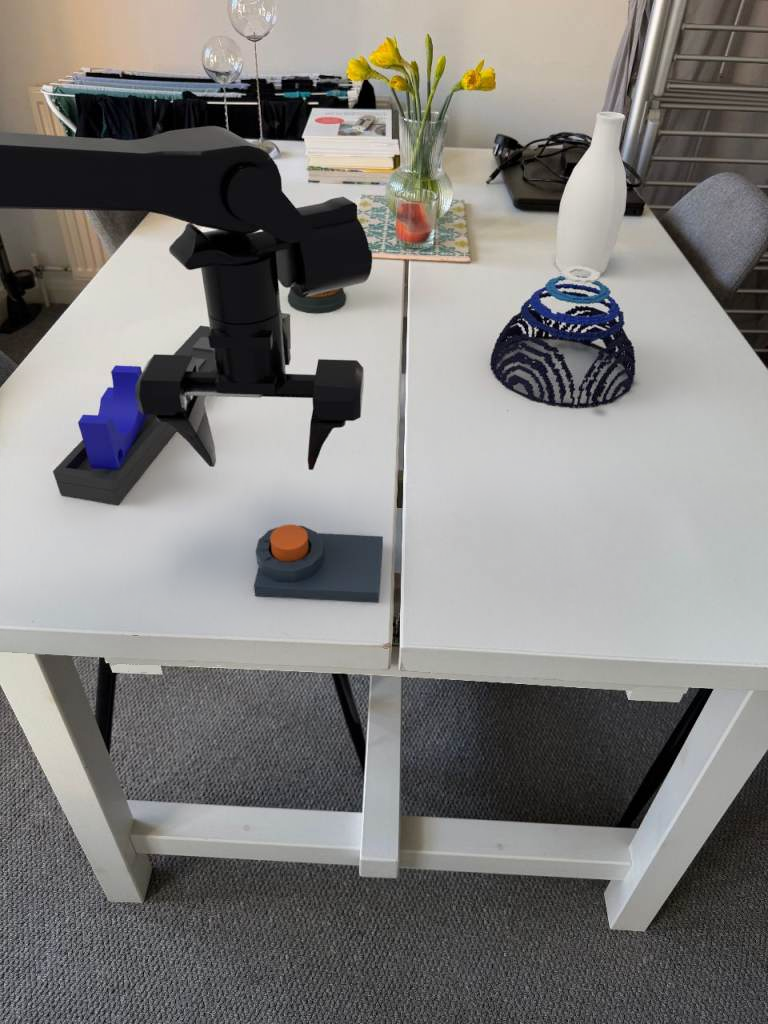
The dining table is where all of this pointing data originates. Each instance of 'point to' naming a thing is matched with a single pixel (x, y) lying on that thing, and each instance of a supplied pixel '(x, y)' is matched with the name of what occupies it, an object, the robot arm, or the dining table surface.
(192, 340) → the power strip
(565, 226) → the bottle
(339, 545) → the switch block
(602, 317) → the decorative bowl
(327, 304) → the mug
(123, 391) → the cable clip
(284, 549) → the power button
